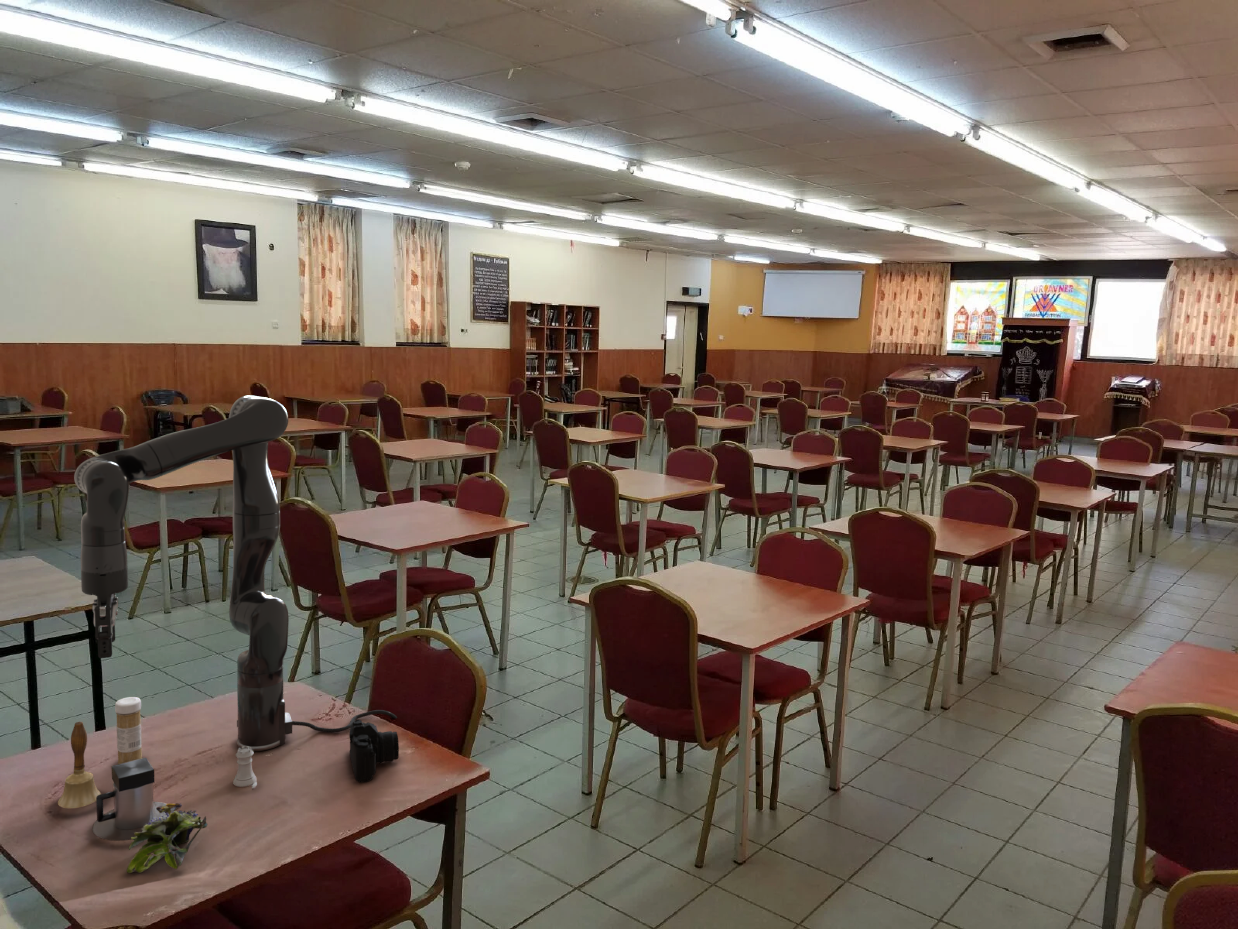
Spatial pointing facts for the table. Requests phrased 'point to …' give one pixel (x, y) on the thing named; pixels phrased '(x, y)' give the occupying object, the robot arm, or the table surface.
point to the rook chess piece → (245, 769)
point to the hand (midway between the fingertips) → (107, 649)
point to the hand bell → (78, 774)
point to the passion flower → (165, 838)
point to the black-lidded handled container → (130, 795)
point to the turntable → (115, 834)
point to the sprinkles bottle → (128, 729)
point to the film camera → (370, 749)
